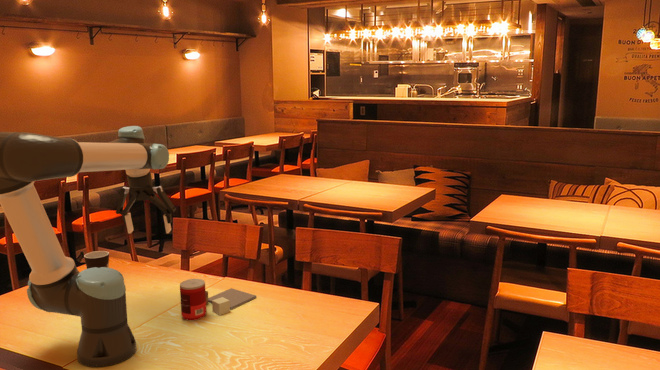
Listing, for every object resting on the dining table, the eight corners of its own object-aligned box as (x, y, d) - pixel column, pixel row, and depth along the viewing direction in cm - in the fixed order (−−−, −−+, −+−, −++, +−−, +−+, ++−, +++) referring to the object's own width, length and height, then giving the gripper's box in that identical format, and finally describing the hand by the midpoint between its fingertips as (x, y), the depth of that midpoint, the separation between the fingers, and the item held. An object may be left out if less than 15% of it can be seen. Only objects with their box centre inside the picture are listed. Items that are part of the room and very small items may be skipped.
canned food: (209, 310, 181) (208, 278, 179) (201, 321, 173) (200, 288, 171) (186, 310, 182) (185, 278, 180) (177, 320, 174) (175, 287, 172)
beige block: (219, 315, 178) (219, 303, 177) (212, 312, 180) (212, 300, 180) (230, 312, 180) (229, 300, 180) (223, 308, 183) (222, 297, 182)
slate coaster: (231, 309, 182) (231, 307, 182) (205, 301, 189) (205, 299, 188) (256, 297, 191) (256, 295, 191) (231, 290, 198) (231, 288, 198)
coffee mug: (102, 284, 204) (100, 258, 202) (81, 283, 206) (79, 257, 204) (120, 274, 215) (118, 249, 213) (100, 272, 217) (98, 247, 215)
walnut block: (201, 309, 183) (200, 296, 182) (189, 307, 184) (188, 294, 183) (208, 303, 187) (207, 291, 186) (197, 302, 188) (196, 289, 188)
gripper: (179, 168, 184) (188, 226, 192) (108, 170, 187) (120, 227, 195) (170, 176, 177) (181, 236, 185) (97, 177, 181) (110, 236, 188)
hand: (149, 231), depth 190 cm, fingers open, 13 cm apart
